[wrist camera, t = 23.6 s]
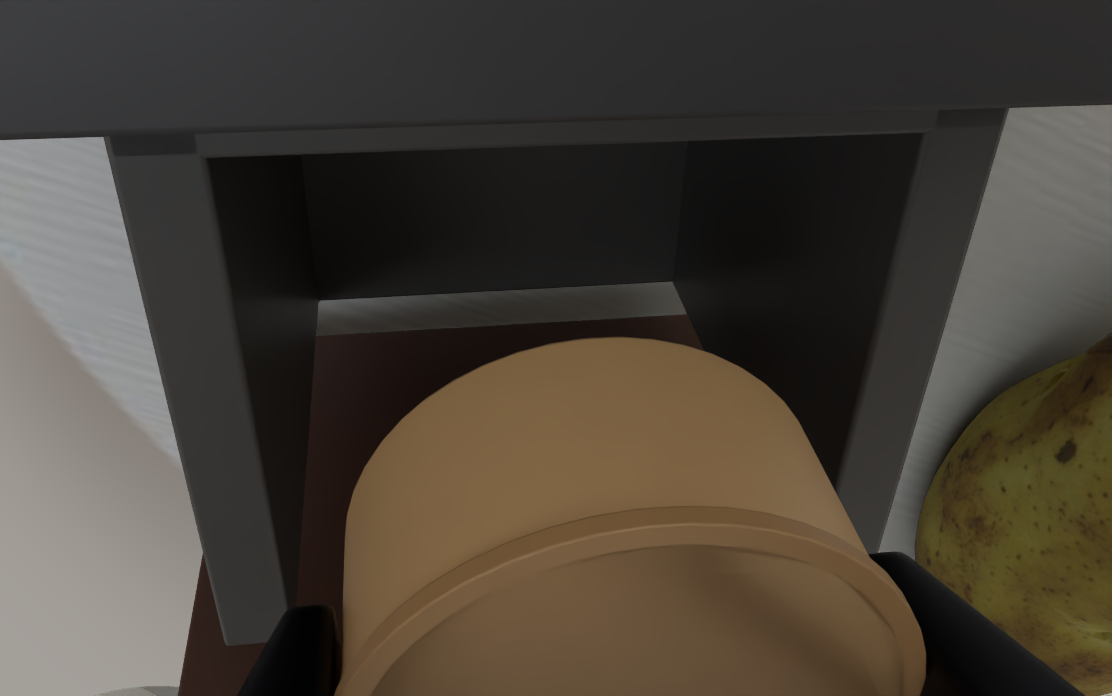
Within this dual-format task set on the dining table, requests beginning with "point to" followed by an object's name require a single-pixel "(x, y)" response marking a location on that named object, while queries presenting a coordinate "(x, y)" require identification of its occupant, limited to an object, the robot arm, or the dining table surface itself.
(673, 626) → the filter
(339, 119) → the dark grey cube
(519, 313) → the dining table surface
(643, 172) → the drawer
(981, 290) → the dining table surface
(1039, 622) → the potato
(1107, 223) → the dining table surface
